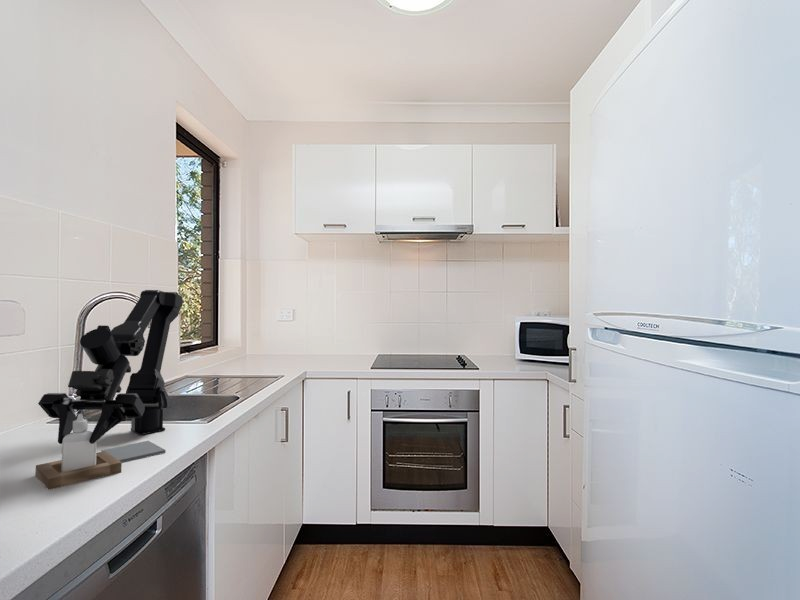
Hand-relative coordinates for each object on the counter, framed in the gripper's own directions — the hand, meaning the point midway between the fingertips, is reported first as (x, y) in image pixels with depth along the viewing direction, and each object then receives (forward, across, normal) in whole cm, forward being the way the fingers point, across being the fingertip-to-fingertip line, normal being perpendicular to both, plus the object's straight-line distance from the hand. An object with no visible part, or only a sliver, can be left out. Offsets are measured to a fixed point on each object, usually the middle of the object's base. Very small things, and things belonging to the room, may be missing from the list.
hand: (75, 442), depth 90 cm
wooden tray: (+4, 0, +6) cm, 7 cm away
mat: (-5, +4, +15) cm, 16 cm away
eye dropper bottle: (+4, 0, +6) cm, 7 cm away
